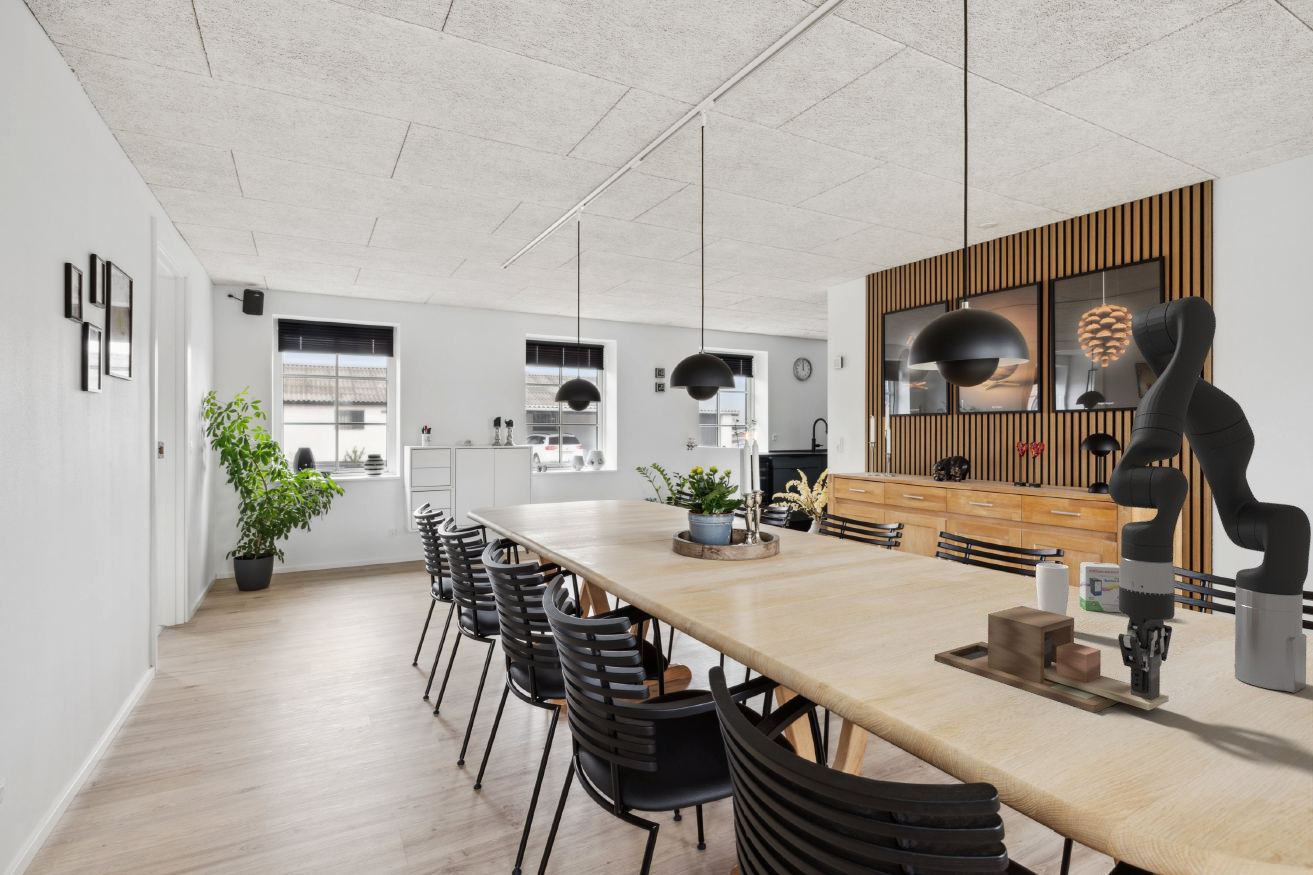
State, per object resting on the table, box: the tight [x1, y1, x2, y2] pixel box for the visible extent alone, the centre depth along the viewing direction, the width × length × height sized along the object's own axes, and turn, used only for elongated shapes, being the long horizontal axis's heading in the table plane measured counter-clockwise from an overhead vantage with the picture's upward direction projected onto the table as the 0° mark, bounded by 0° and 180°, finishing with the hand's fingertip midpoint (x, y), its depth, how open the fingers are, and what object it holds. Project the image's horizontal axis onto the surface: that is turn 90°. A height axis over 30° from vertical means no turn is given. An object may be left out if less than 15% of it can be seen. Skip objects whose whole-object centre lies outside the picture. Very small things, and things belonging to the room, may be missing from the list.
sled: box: [1044, 637, 1170, 711], centre depth 120 cm, size 21×7×8 cm, turn 32°
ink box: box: [1079, 561, 1122, 613], centre depth 177 cm, size 9×5×12 cm, turn 73°
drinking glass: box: [1035, 562, 1070, 616], centre depth 159 cm, size 7×7×15 cm
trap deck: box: [934, 605, 1130, 714], centre depth 129 cm, size 30×16×11 cm, turn 32°
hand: (1145, 689), depth 113 cm, fingers closed on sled, 3 cm apart
